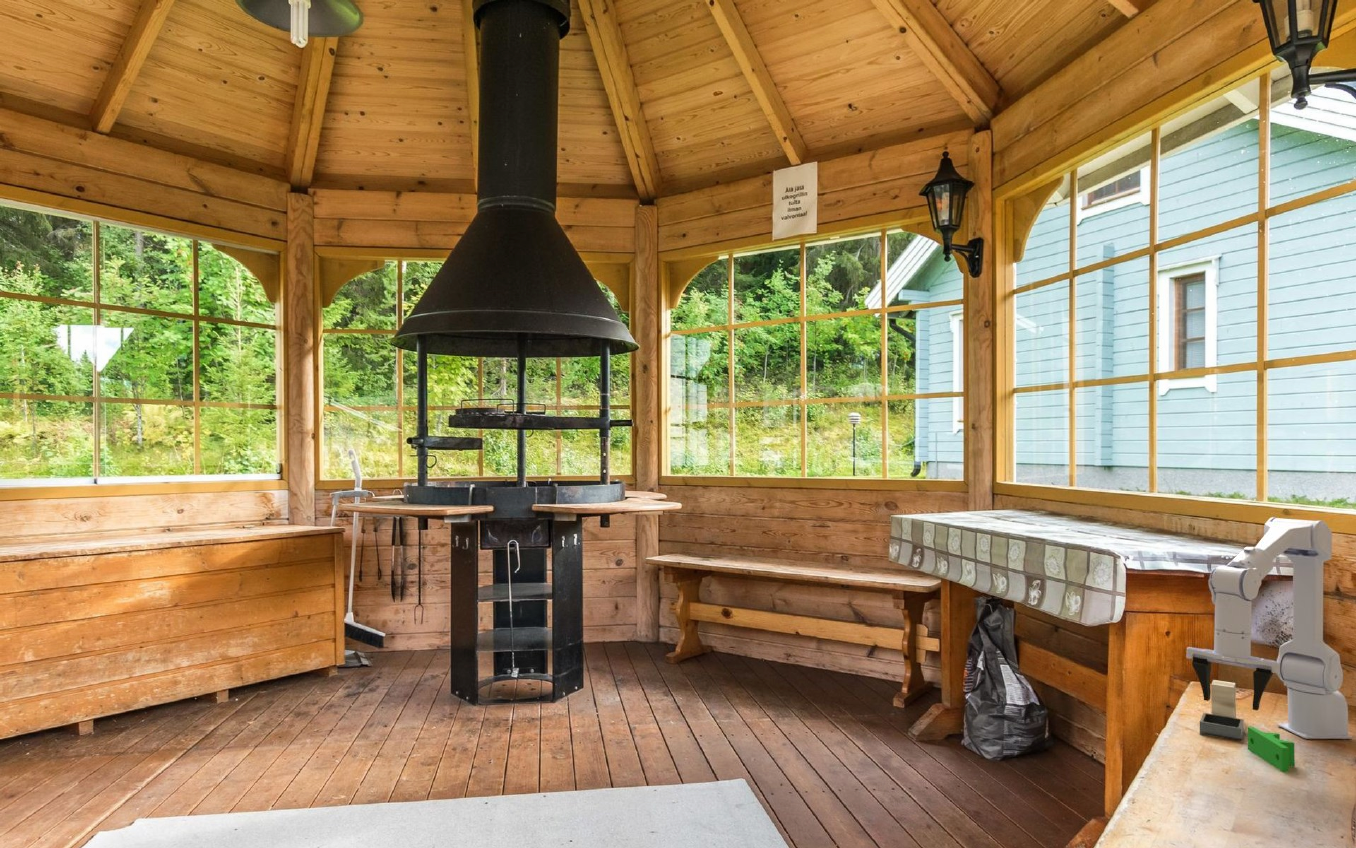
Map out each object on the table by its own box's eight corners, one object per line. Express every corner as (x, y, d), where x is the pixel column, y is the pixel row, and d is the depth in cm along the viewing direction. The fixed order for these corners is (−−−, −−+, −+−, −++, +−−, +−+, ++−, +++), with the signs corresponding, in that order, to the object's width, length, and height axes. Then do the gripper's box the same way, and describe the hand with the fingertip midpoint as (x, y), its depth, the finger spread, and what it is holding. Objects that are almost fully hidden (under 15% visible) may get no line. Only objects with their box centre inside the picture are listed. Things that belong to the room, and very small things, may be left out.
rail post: (1213, 717, 179) (1213, 679, 179) (1236, 720, 176) (1235, 683, 177) (1211, 722, 176) (1211, 684, 176) (1234, 726, 173) (1233, 687, 173)
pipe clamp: (1305, 774, 149) (1304, 749, 149) (1282, 773, 149) (1282, 748, 149) (1268, 750, 160) (1268, 727, 160) (1247, 750, 160) (1247, 726, 160)
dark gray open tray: (1203, 724, 174) (1203, 712, 174) (1243, 731, 170) (1243, 719, 170) (1199, 734, 169) (1199, 721, 169) (1241, 741, 164) (1241, 728, 164)
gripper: (1183, 626, 158) (1181, 699, 157) (1276, 640, 148) (1275, 717, 147) (1191, 623, 163) (1189, 693, 162) (1282, 636, 153) (1280, 710, 152)
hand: (1231, 704), depth 155 cm, fingers open, 7 cm apart
